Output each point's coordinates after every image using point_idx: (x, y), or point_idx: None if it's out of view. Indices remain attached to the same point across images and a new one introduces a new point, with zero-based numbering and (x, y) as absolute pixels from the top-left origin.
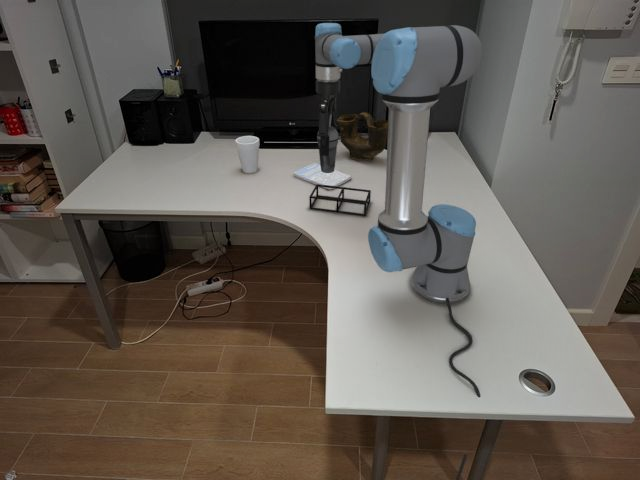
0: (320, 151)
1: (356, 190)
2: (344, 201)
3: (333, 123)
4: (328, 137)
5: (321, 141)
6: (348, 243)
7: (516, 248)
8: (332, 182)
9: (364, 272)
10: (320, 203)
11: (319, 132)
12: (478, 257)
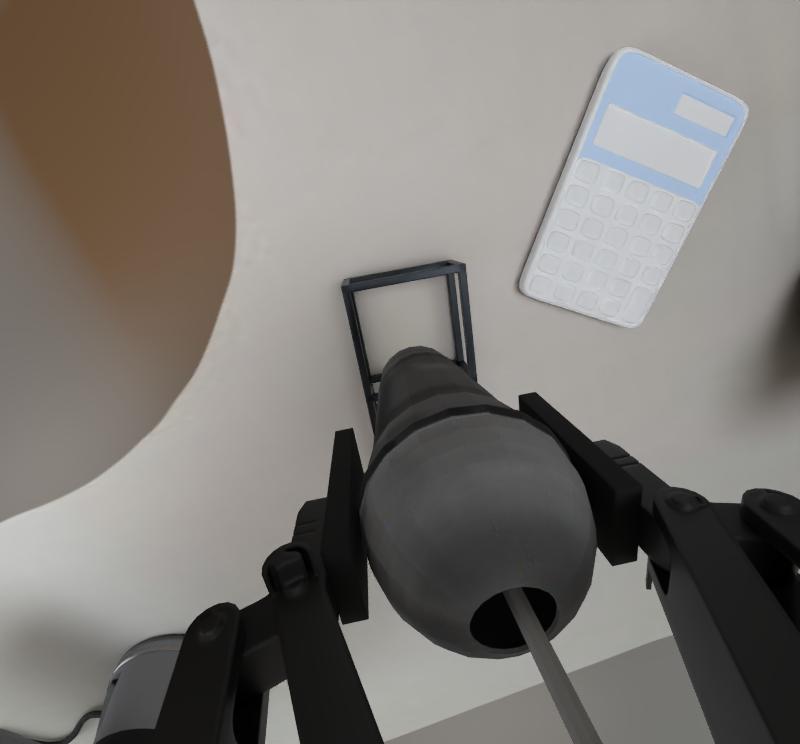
0: (384, 413)
1: None
2: (371, 423)
3: (663, 605)
4: (343, 613)
5: (328, 515)
6: (215, 476)
7: (390, 731)
8: (559, 285)
9: (118, 553)
10: (404, 297)
11: (176, 681)
12: None
